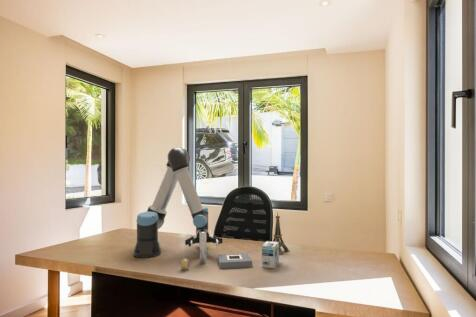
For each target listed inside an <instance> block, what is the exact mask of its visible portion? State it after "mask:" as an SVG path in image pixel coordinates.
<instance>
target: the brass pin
mask: <svg viewBox="0 0 476 317" xmlns="http://www.w3.org/2000/svg"><path fill="white" fill-rule="evenodd" d="M189 260H190V259H189V258H181V259H180V271H182V272H188V271H189V262H190V261H189Z"/></svg>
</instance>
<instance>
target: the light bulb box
mask: <svg viewBox="0 0 476 317" xmlns="http://www.w3.org/2000/svg"><path fill="white" fill-rule="evenodd" d="M261 254H262V255H261V260H262V261H261V264H262V268H267V269H268V268H269V269H276V267H277V266H278V265H279V263H280V255H279V242H273V241H270V240H266V241H265V242H264V243H263V244H262V246H261Z"/></svg>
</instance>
